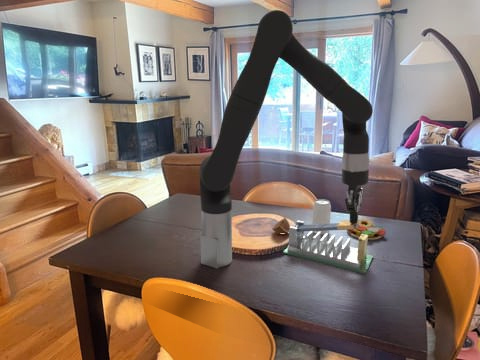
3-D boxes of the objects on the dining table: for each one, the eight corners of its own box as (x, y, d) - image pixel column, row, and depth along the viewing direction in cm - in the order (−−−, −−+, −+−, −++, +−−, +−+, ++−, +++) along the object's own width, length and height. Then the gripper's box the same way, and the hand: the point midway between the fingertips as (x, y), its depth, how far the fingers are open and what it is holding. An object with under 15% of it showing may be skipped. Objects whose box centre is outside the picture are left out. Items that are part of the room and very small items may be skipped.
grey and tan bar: (292, 233, 117) (290, 228, 117) (297, 229, 121) (295, 223, 121) (356, 231, 106) (354, 225, 106) (359, 226, 110) (358, 220, 109)
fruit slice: (287, 239, 127) (287, 226, 125) (269, 236, 129) (269, 224, 128) (292, 230, 134) (293, 218, 133) (275, 228, 136) (276, 216, 135)
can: (329, 236, 129) (331, 205, 126) (311, 234, 131) (313, 203, 127) (328, 229, 136) (331, 199, 132) (311, 227, 137) (313, 198, 134)
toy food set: (362, 224, 141) (362, 217, 140) (392, 236, 130) (393, 228, 129) (339, 232, 133) (340, 224, 132) (369, 245, 123) (370, 236, 122)
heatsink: (283, 253, 116) (284, 227, 114) (296, 239, 126) (298, 216, 124) (365, 274, 104) (368, 246, 101) (373, 257, 114) (375, 231, 111)
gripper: (348, 162, 111) (346, 214, 115) (336, 171, 100) (335, 228, 104) (373, 163, 107) (370, 217, 112) (363, 173, 96) (361, 232, 101)
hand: (353, 222), depth 108 cm, fingers closed
